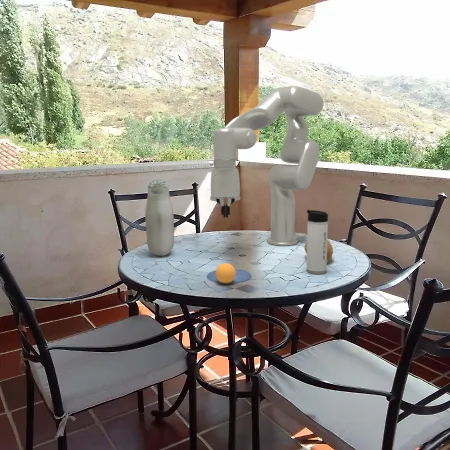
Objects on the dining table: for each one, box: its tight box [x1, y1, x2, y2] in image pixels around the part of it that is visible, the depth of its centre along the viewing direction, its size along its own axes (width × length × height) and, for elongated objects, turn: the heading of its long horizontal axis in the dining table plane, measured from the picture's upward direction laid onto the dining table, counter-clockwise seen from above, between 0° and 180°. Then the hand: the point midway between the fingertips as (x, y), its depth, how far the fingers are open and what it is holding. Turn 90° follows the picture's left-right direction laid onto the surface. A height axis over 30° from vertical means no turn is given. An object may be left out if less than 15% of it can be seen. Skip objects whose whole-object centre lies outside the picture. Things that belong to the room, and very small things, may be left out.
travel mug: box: [306, 209, 329, 275], centre depth 139 cm, size 6×7×20 cm
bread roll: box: [304, 239, 334, 263], centre depth 154 cm, size 10×15×8 cm, turn 177°
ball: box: [215, 262, 236, 284], centre depth 131 cm, size 6×6×6 cm
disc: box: [206, 268, 252, 284], centre depth 138 cm, size 14×14×1 cm
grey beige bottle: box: [144, 179, 175, 257], centre depth 161 cm, size 10×10×28 cm
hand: (225, 216), depth 156 cm, fingers closed
